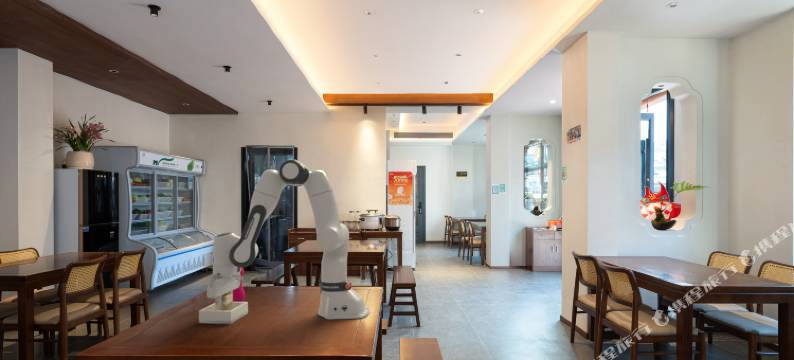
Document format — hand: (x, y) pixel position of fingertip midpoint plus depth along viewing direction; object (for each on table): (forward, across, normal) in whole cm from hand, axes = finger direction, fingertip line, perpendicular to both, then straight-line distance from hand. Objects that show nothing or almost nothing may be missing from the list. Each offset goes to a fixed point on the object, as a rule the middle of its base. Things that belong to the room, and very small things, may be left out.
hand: (224, 303), depth 173 cm
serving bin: (+6, 0, 0) cm, 6 cm away
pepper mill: (+6, +18, +4) cm, 19 cm away
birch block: (+2, 0, 0) cm, 2 cm away
